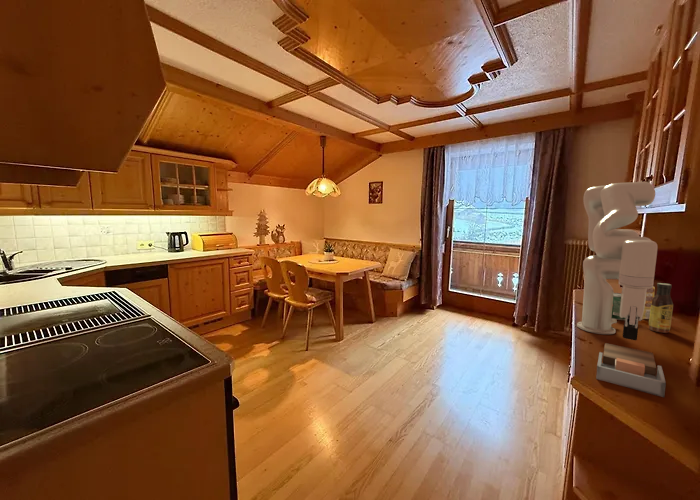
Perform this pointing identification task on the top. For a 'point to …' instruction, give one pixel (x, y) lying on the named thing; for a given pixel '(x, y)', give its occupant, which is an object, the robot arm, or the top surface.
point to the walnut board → (629, 357)
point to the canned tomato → (616, 306)
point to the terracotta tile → (630, 367)
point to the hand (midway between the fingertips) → (629, 338)
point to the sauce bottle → (661, 309)
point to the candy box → (648, 303)
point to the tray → (632, 378)
